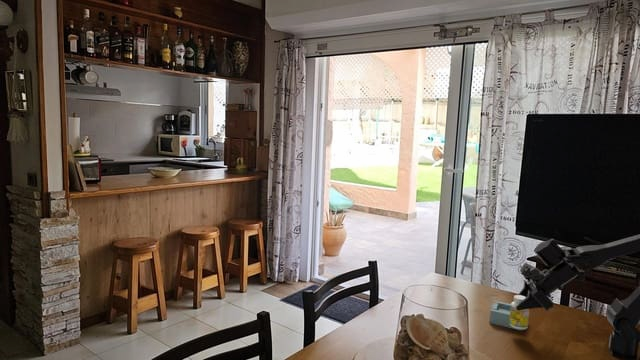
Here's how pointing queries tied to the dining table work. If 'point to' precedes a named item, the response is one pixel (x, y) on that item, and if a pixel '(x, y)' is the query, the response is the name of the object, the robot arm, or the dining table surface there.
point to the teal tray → (501, 314)
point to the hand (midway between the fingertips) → (515, 305)
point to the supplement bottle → (518, 314)
